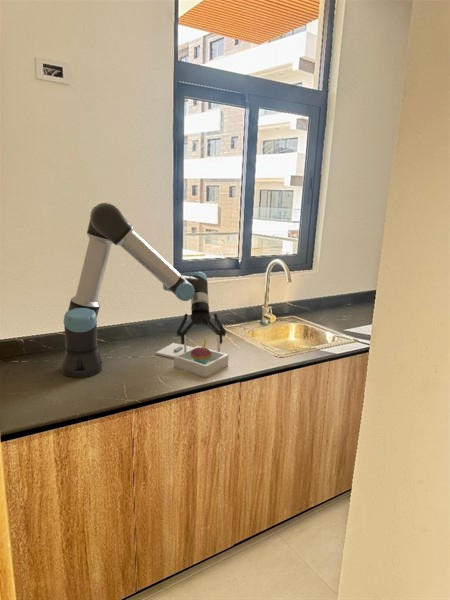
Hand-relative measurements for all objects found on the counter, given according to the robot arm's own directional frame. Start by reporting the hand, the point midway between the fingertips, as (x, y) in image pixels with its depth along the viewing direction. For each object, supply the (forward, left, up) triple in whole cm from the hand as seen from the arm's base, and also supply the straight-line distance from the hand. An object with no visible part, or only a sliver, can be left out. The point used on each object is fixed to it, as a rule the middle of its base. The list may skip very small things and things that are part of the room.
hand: (202, 351), depth 166 cm
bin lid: (+8, +18, -8) cm, 21 cm away
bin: (+2, +1, -8) cm, 8 cm away
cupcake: (+1, +2, -7) cm, 7 cm away
